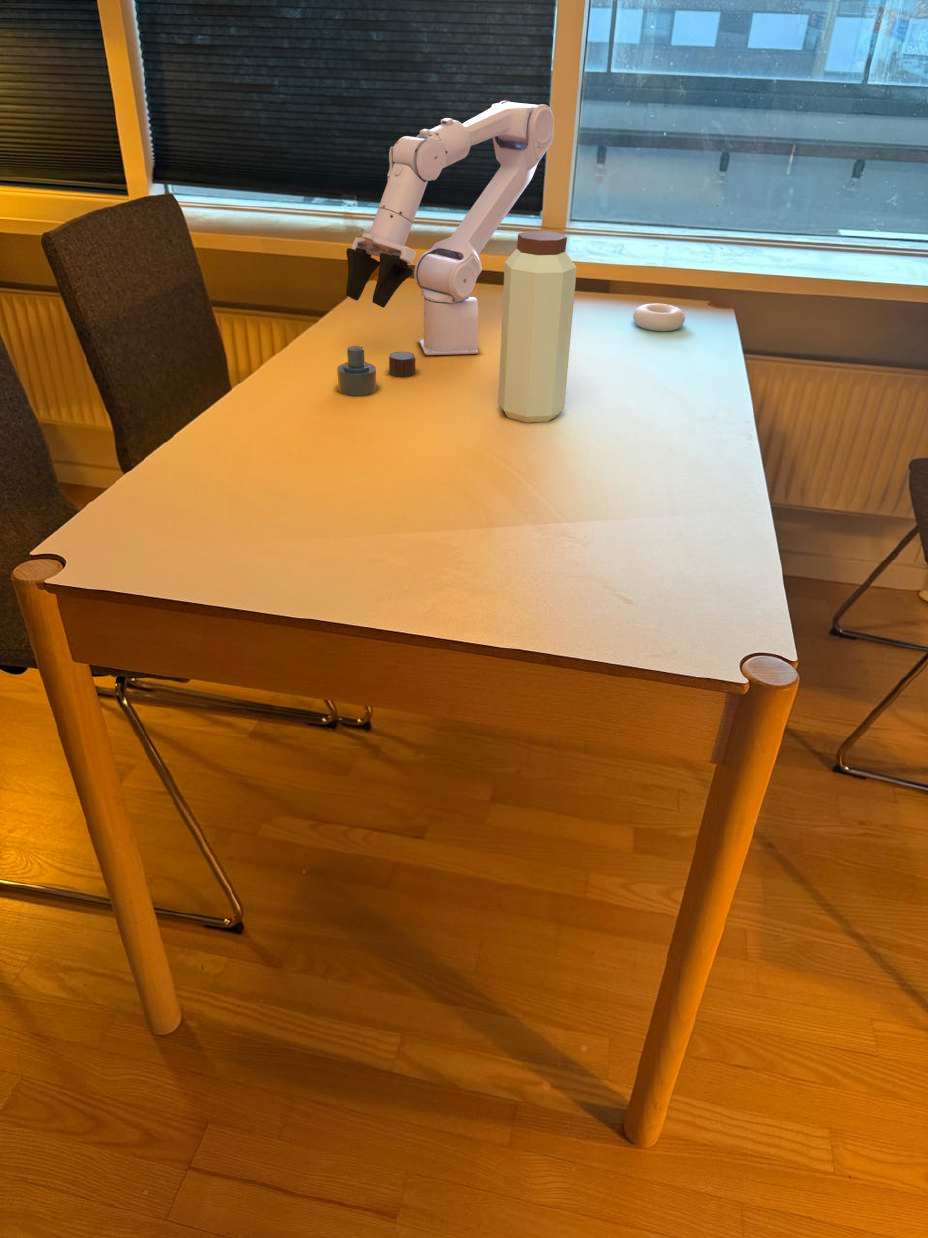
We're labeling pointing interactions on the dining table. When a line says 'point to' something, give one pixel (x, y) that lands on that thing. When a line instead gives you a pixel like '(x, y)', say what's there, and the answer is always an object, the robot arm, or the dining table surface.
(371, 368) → the bottle
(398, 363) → the cap
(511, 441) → the dining table surface
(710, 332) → the dining table surface
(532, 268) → the water bottle
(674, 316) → the donut
